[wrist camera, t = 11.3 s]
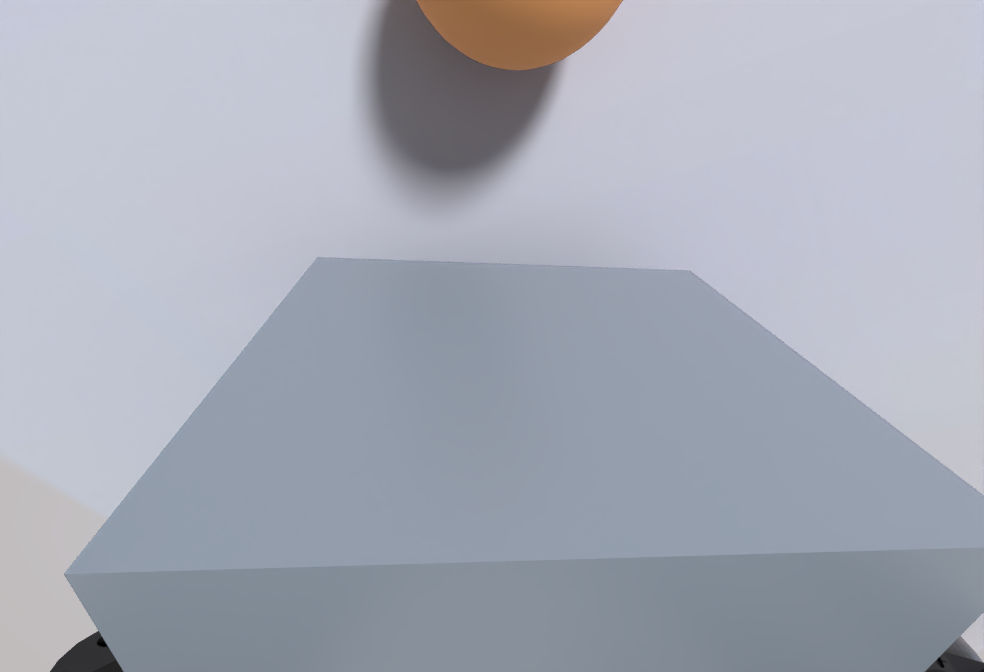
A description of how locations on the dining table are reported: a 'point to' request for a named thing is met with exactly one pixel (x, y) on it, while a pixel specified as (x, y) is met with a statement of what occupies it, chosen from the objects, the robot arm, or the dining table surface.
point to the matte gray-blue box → (531, 493)
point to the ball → (518, 28)
